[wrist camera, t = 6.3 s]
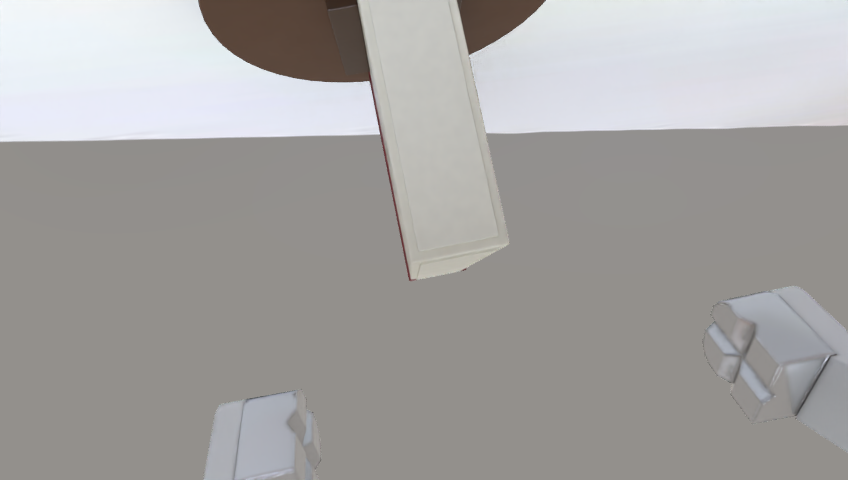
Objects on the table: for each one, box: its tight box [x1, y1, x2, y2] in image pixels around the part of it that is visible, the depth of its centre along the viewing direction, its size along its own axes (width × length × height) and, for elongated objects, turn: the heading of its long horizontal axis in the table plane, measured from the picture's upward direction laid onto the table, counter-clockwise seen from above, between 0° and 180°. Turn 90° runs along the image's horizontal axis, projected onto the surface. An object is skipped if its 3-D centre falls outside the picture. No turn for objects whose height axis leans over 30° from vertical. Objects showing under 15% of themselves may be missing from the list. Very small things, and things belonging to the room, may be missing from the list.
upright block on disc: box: [198, 0, 546, 281], centre depth 23 cm, size 16×16×13 cm
